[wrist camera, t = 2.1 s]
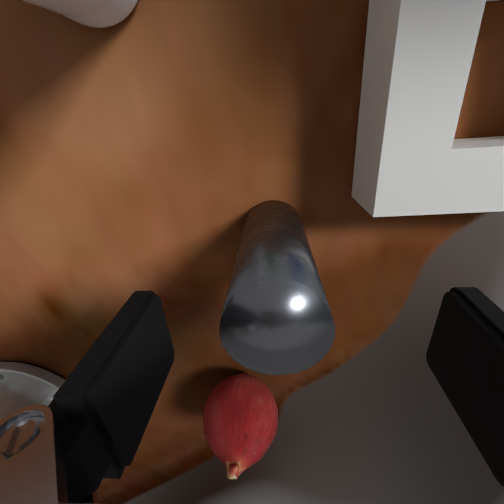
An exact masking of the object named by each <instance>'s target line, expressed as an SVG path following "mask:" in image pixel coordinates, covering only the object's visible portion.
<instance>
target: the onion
mask: <svg viewBox="0 0 504 504" xmlns="http://www.w3.org/2000/svg"><path fill="white" fill-rule="evenodd" d="M203 423H204V434H205V437H206V441H207V443H208V445H209V447H210V448H211V450H212V451H213V453H214V454H215V456H216V457H217V458H218V459H219V460H220V461H221V462H222V463H224V464H225V465H226V467H227V477H228V478H229V479H237V478H238V476H239V475H240V474H241V473H242V472H243V471H244V470H245V469H247V468H248V467H250V466H251V465H252V464H254V463H256V462H257V461H259V460H260V459H261V458H262V457H263V455H264V454H265V453H266V452H267V450H268V448H269V446H270V444H271V442H272V441H273V439H274V437H275V435H276V432H277V426H278V409H277V405H276V402H275V399H274V397H273V395H272V394H271V392H270V390H269V389H268V387H267V386H266V385H265V384H264V383H263V382H261V381H260V380H259V379H257V378H256V377H253V376H250V375H249V374H247V373H244V372H243V373H240V374H237V375H232V376H229V377H227V378H226V379H224V380H223V381H221V382H220V383H218V384H217V386H216V387H215V388H214V389H213V390H212V392H211V393H210V395H209V396H208V398H207V401H206V403H205V406H204V412H203Z"/></svg>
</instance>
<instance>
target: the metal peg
mask: <svg viewBox="0 0 504 504" xmlns="http://www.w3.org/2000/svg"><path fill="white" fill-rule="evenodd" d="M219 330H220V338H221V342H222V344H223V346H224V348H225V350H226V351H227V353H228V354H229V355H230V356H231V357H232V358H233V359H234V360H235V361H236V362H238V363H239V364H241V365H242V366H244V367H246V368H248V369H250V370H253V371H256V372H259V373H264V374H270V375H285V374H292V373H296V372H300V371H303V370H305V369H307V368H310V367H311V366H313V365H315V364H316V363H318V362H319V361H320V360H321V359H322V358H323V357H324V356H325V355H326V354H327V353H328V351H329V350H330V348H331V346H332V344H333V341H334V336H335V325H334V321H333V318H332V314H331V311H330V308H329V305H328V302H327V299H326V296H325V292H324V289H323V286H322V283H321V280H320V277H319V274H318V271H317V267H316V264H315V261H314V258H313V255H312V252H311V249H310V246H309V242H308V239H307V236H306V233H305V230H304V227H303V224H302V221H301V218H300V216H299V214H298V212H297V211H296V210H295V209H294V208H293V207H292V206H290V205H289V204H287V203H284V202H281V201H276V200H271V201H265V202H262V203H259V204H258V205H256V206H254V207H253V208H252V209H251V210H250V211H249V212H248V214H247V215H246V217H245V220H244V223H243V227H242V232H241V236H240V240H239V245H238V249H237V253H236V257H235V262H234V266H233V270H232V275H231V279H230V283H229V287H228V292H227V296H226V300H225V305H224V309H223V313H222V318H221V322H220V329H219Z"/></svg>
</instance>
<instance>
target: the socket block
mask: <svg viewBox="0 0 504 504" xmlns="http://www.w3.org/2000/svg"><path fill="white" fill-rule="evenodd" d="M488 1H498V0H369V8H368V19H367V30H366V41H365V52H364V63H363V74H362V85H361V96H360V107H359V118H358V129H357V140H356V151H355V162H354V173H353V184H352V195H351V196H352V197H353V198H354V199H355V200H356V201H357V202H358V203H359V204H360V205H361V206H362V207H363V208H364V209H365V210H366V211H367V212H368V213H369V214H370V215H371V216H372V217H389V216H411V215H434V214H456V213H478V212H497V211H498V212H499V211H504V136H493V137H477V138H462V139H454V136H455V132H456V128H457V123H458V119H459V115H460V111H461V106H462V102H463V98H464V93H465V89H466V85H467V81H468V76H469V72H470V68H471V63H472V59H473V55H474V51H475V46H476V42H477V38H478V33H479V29H480V25H481V21H482V16H483V12H484V8H485V3H486V2H488Z"/></svg>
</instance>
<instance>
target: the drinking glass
mask: <svg viewBox="0 0 504 504" xmlns="http://www.w3.org/2000/svg"><path fill="white" fill-rule="evenodd" d="M22 1H24V2H27V3H30V4H33V5H36V6H39V7H41V8H44V9H47V10H50V11H53V12H55V13H58V14H60V15H62V16H64V17H66V18H68V19H70V20H72V21H74V22H77V23H79V24H82V25H85V26H88V27H94V28H106V27H111V26H113V25H116V24H118V23H120V22H121V21H123V20H124V19H125V18H126V17H127V16H128V15H129V14H130V13H131V12H132V11H133V9H134V8H135V6H136V4H137V2H138V0H22Z"/></svg>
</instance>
